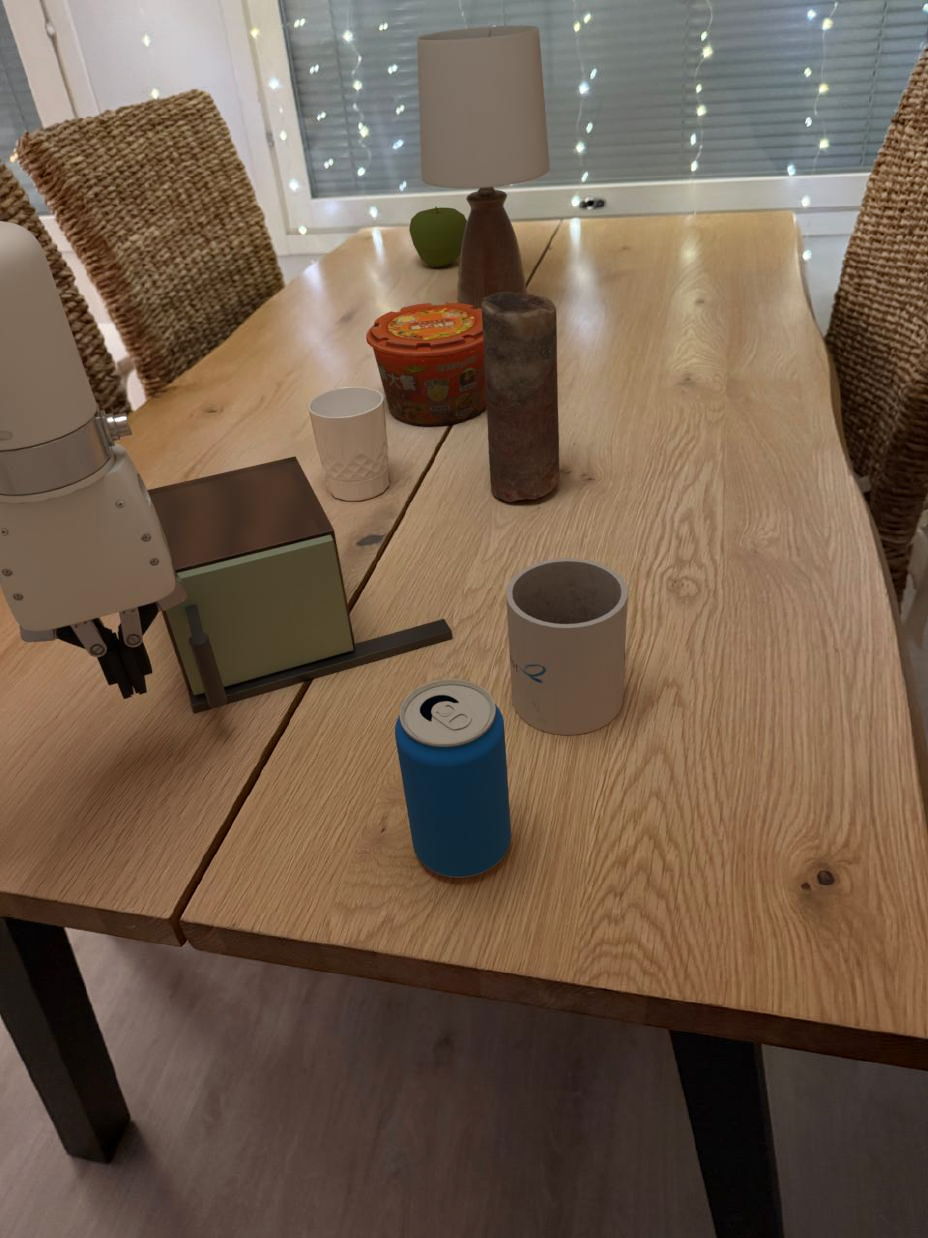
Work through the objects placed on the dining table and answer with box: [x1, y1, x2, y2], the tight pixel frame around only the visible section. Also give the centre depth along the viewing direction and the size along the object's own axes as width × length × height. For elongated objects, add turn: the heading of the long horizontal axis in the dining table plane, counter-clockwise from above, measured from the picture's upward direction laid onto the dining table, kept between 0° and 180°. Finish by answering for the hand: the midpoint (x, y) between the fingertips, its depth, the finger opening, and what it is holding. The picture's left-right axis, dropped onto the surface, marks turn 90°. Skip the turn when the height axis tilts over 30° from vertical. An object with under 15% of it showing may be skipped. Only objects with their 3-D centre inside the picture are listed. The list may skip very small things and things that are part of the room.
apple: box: [408, 206, 468, 268], centre depth 164 cm, size 11×10×10 cm
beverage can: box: [394, 678, 512, 878], centre depth 57 cm, size 6×6×12 cm
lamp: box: [416, 24, 550, 309], centre depth 135 cm, size 19×19×37 cm
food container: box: [365, 301, 487, 427], centre depth 114 cm, size 16×16×11 cm
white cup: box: [307, 385, 390, 502], centre depth 98 cm, size 8×8×10 cm
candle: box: [481, 292, 560, 503], centre depth 92 cm, size 8×7×20 cm
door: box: [166, 535, 353, 708], centre depth 70 cm, size 13×6×11 cm, turn 111°
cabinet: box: [147, 455, 453, 714], centre depth 78 cm, size 22×16×12 cm
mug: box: [505, 557, 629, 736], centre depth 70 cm, size 12×9×10 cm
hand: (134, 684), depth 65 cm, fingers closed
